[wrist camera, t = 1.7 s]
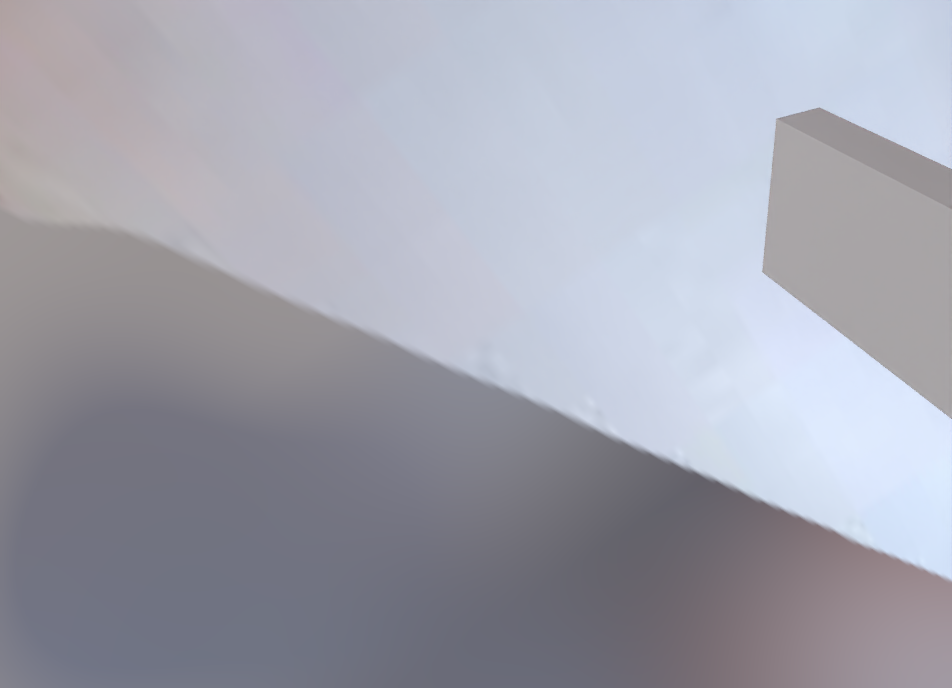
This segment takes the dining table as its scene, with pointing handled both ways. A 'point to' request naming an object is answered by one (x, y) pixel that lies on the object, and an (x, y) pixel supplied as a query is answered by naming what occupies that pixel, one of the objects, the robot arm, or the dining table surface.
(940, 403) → the robot arm
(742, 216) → the dining table surface
